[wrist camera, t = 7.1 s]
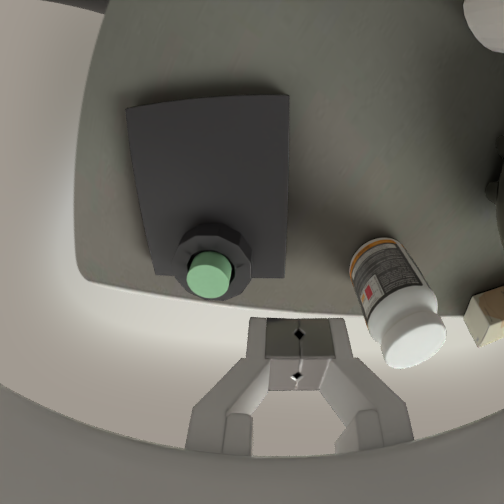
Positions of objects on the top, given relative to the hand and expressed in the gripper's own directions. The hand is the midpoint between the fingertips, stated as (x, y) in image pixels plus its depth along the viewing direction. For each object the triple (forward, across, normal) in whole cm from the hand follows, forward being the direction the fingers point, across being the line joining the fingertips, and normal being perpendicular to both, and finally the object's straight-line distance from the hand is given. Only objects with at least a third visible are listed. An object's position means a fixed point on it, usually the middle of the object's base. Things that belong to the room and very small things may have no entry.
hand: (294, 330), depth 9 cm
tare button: (+11, +5, +5) cm, 13 cm away
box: (+11, -34, +11) cm, 38 cm away
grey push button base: (+14, +5, 0) cm, 15 cm away
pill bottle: (+14, -9, +7) cm, 18 cm away
